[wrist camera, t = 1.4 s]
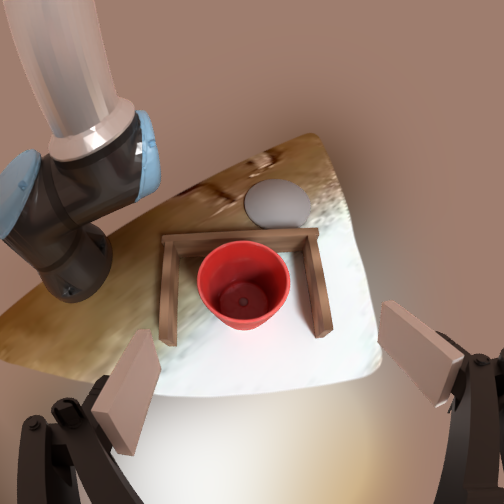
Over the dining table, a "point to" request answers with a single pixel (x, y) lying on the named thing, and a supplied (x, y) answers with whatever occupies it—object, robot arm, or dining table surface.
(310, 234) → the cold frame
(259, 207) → the slate mat
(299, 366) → the dining table surface
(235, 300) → the flower pot
